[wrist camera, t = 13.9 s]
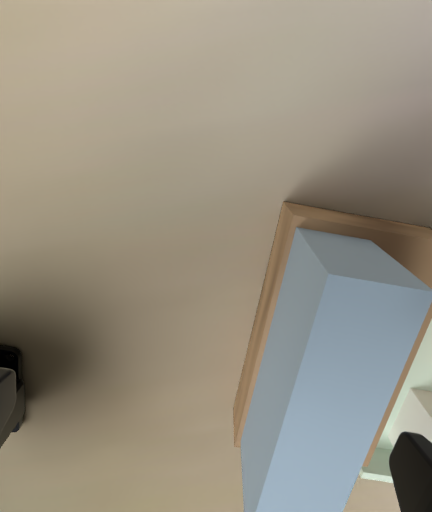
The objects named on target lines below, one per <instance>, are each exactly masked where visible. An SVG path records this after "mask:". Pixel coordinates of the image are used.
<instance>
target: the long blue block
mask: <svg viewBox="0 0 432 512" xmlns="http://www.w3.org/2000/svg"><path fill="white" fill-rule="evenodd" d="M431 302H432V289H431V288H430V287H428V286H427V285H426V284H425V283H423V282H422V281H421V280H420V279H418V278H417V277H416V276H415V275H413V274H412V273H411V272H410V271H408V270H407V269H406V268H405V267H403V266H402V265H401V264H400V263H398V262H397V261H396V260H395V259H393V258H392V257H391V256H390V255H388V254H387V253H386V252H385V251H383V250H382V249H381V248H380V247H378V246H377V245H376V244H375V243H373V242H372V241H371V240H366V239H361V238H355V237H349V236H344V235H338V234H332V233H327V232H321V231H315V230H310V229H304V228H299V227H296V230H295V234H294V238H293V241H292V245H291V249H290V253H289V257H288V261H287V265H286V268H285V272H284V276H283V280H282V284H281V288H280V291H279V295H278V299H277V303H276V307H275V311H274V315H273V318H272V322H271V326H270V330H269V334H268V338H267V341H266V345H265V349H264V353H263V357H262V361H261V365H260V368H259V372H258V376H257V380H256V384H255V388H254V391H253V395H252V399H251V403H250V407H249V411H248V414H247V418H246V422H245V426H244V430H243V434H242V438H241V461H242V481H243V501H244V512H343V510H344V507H345V505H346V503H347V500H348V498H349V496H350V493H351V491H352V489H353V486H354V484H355V481H356V479H357V477H358V474H359V472H360V470H361V467H362V465H363V463H364V460H365V458H366V456H367V453H368V451H369V448H370V446H371V444H372V441H373V439H374V437H375V434H376V432H377V430H378V427H379V425H380V423H381V420H382V418H383V415H384V413H385V411H386V408H387V406H388V404H389V401H390V399H391V397H392V394H393V392H394V390H395V387H396V385H397V382H398V380H399V378H400V375H401V373H402V371H403V368H404V366H405V364H406V361H407V359H408V357H409V354H410V352H411V349H412V347H413V345H414V342H415V340H416V338H417V335H418V333H419V331H420V328H421V326H422V324H423V321H424V319H425V316H426V314H427V312H428V309H429V307H430V305H431Z"/></svg>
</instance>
